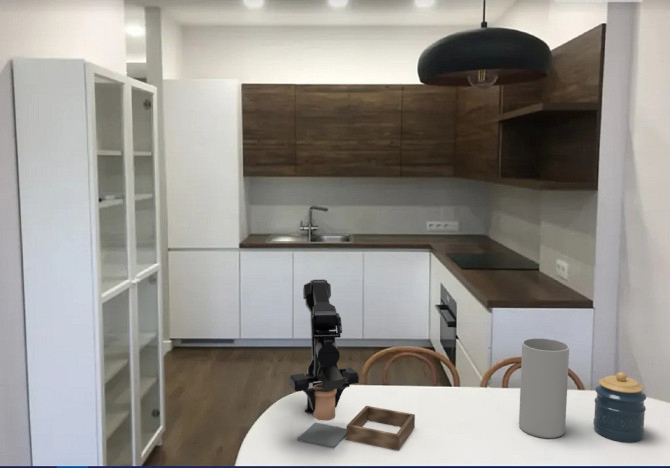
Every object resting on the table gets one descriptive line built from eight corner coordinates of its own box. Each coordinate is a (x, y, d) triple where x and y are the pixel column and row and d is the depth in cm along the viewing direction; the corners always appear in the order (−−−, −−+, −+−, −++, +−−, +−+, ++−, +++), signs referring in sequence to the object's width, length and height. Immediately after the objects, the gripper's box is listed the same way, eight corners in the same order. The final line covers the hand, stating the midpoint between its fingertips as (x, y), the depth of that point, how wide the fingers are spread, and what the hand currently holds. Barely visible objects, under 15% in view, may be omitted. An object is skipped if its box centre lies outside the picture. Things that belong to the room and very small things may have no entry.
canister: (639, 426, 167) (643, 367, 165) (647, 446, 155) (652, 383, 153) (591, 420, 171) (594, 362, 170) (595, 438, 159) (598, 377, 157)
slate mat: (297, 440, 157) (297, 438, 157) (315, 424, 167) (315, 422, 167) (334, 448, 153) (334, 446, 153) (350, 431, 163) (350, 429, 163)
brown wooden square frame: (346, 439, 158) (346, 425, 157) (365, 418, 171) (366, 405, 171) (398, 450, 152) (398, 436, 151) (414, 427, 165) (414, 414, 165)
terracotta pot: (307, 418, 158) (308, 390, 157) (318, 409, 164) (318, 381, 163) (330, 422, 155) (330, 394, 154) (340, 413, 161) (340, 385, 160)
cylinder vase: (522, 416, 173) (525, 336, 171) (566, 425, 168) (570, 341, 165) (515, 433, 162) (519, 347, 159) (563, 442, 157) (567, 353, 154)
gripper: (301, 367, 147) (300, 425, 148) (367, 359, 153) (366, 415, 155) (288, 354, 157) (288, 409, 159) (351, 347, 164) (351, 400, 165)
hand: (324, 408), depth 159 cm, fingers closed on terracotta pot, 6 cm apart
